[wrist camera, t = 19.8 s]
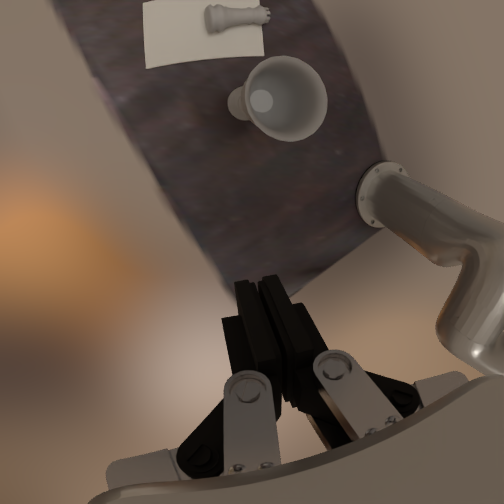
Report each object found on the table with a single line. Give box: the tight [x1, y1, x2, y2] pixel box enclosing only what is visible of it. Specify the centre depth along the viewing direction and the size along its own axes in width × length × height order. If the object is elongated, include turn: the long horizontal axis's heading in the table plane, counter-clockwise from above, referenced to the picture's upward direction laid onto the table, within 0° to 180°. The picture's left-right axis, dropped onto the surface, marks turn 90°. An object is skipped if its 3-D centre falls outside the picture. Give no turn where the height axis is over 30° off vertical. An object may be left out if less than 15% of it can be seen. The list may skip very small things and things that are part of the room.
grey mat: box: [143, 0, 264, 69], centre depth 28 cm, size 16×11×1 cm
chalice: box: [227, 56, 328, 142], centre depth 27 cm, size 7×7×18 cm
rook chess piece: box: [205, 4, 270, 33], centre depth 26 cm, size 4×4×8 cm
